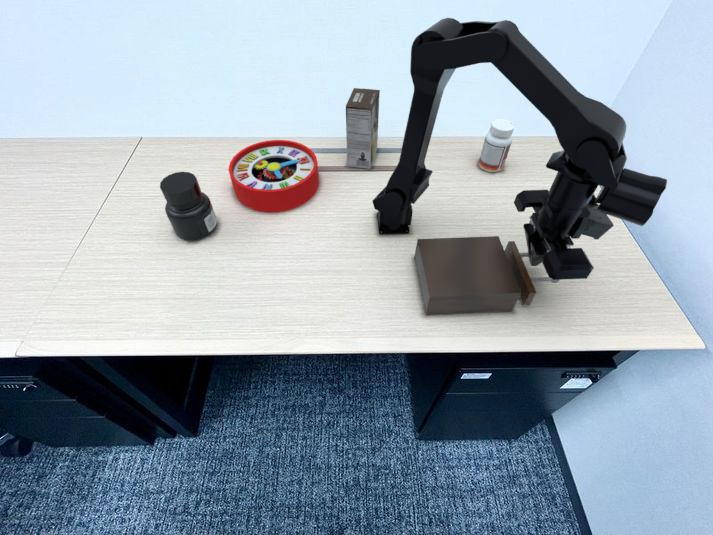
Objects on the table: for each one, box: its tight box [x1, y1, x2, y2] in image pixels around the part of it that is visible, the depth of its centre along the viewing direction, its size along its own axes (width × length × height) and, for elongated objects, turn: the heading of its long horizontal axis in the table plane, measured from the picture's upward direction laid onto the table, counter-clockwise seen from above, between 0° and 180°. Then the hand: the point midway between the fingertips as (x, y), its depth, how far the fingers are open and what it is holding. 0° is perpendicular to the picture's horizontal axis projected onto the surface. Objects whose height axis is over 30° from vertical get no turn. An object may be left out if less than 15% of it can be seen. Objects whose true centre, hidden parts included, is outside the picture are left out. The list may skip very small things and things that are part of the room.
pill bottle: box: [478, 118, 515, 173], centre depth 96 cm, size 6×6×11 cm
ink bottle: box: [159, 171, 219, 242], centre depth 81 cm, size 10×9×12 cm
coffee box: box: [345, 87, 381, 170], centre depth 96 cm, size 9×6×16 cm
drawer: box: [502, 240, 560, 306], centre depth 73 cm, size 20×12×4 cm, turn 93°
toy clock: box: [228, 139, 320, 214], centre depth 93 cm, size 20×6×20 cm
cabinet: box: [413, 235, 521, 316], centre depth 73 cm, size 16×14×6 cm
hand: (533, 264), depth 72 cm, fingers closed
